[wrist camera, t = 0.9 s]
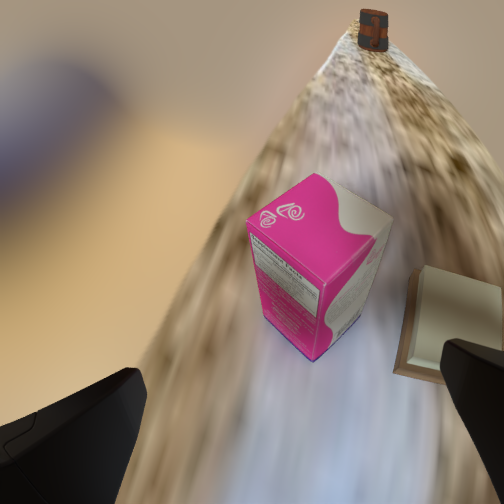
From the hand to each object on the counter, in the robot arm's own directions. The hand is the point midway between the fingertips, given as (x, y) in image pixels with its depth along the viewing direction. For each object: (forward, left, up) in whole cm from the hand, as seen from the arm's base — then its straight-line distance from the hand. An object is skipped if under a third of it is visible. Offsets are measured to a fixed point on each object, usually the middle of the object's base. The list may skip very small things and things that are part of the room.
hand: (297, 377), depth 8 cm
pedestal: (-5, -14, -15) cm, 21 cm away
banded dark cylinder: (+42, -76, -15) cm, 89 cm away
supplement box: (+5, -7, -15) cm, 17 cm away
